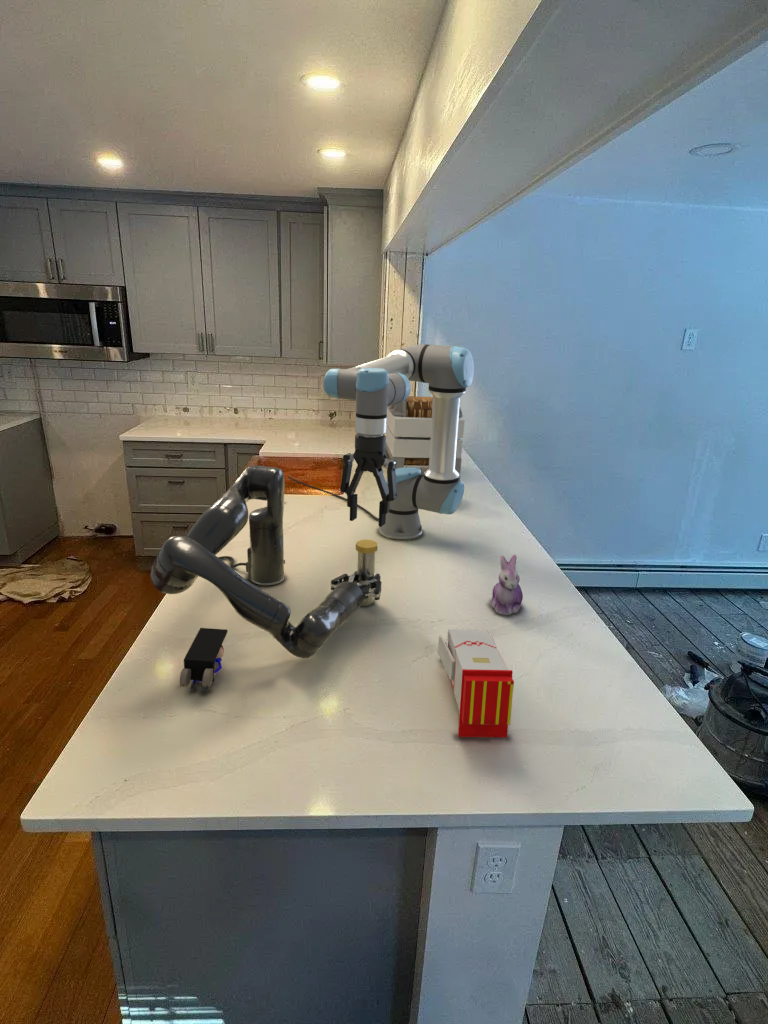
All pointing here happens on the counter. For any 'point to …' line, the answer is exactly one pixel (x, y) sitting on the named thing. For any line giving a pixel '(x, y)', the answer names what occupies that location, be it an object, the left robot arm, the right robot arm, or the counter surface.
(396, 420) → the white wooden crate
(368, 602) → the bottle
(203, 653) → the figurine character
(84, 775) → the counter surface
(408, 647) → the counter surface
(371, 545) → the lid
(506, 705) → the toy
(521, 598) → the figurine
